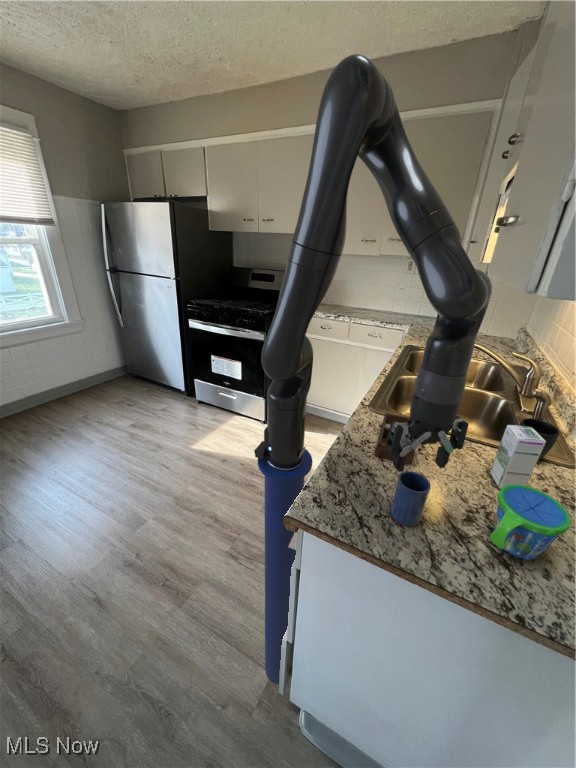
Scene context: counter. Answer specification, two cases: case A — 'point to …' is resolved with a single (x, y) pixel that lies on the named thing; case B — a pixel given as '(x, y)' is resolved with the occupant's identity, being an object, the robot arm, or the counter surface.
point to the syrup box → (516, 456)
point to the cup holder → (381, 447)
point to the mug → (542, 433)
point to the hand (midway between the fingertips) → (418, 467)
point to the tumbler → (410, 498)
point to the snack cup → (527, 521)
